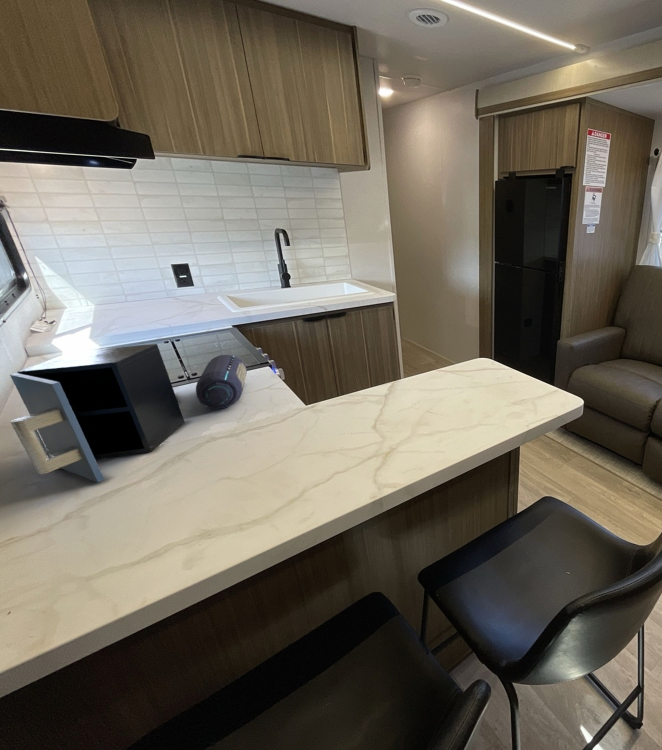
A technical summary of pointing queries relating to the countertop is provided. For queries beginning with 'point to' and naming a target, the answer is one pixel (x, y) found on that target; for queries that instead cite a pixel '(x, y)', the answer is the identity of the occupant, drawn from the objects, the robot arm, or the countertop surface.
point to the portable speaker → (221, 382)
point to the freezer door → (52, 429)
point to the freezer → (117, 397)
